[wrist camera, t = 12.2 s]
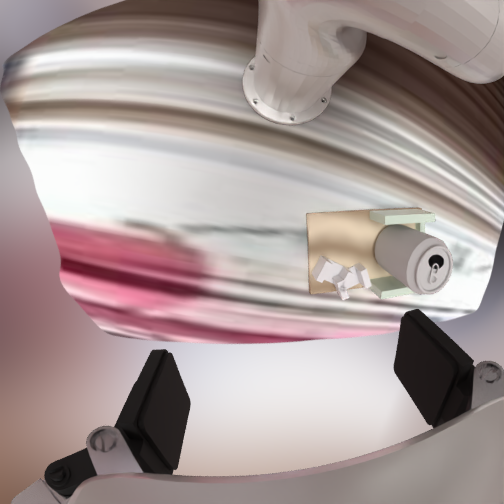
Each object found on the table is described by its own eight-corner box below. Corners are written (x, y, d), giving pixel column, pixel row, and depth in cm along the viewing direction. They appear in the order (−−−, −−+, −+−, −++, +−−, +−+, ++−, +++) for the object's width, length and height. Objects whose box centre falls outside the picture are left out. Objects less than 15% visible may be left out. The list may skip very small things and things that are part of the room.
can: (416, 228, 38) (463, 247, 26) (403, 272, 40) (445, 302, 28) (379, 217, 37) (424, 234, 26) (366, 265, 39) (405, 296, 27)
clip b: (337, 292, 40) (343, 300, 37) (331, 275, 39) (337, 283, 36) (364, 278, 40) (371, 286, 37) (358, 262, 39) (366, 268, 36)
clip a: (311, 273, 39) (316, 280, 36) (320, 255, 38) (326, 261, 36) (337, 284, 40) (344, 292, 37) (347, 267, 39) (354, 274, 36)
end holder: (369, 210, 37) (385, 215, 32) (420, 208, 37) (438, 213, 32) (367, 286, 40) (380, 299, 35) (416, 278, 40) (431, 289, 35)
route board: (306, 213, 38) (307, 214, 37) (418, 207, 38) (421, 208, 37) (309, 291, 41) (310, 294, 40) (414, 276, 41) (417, 278, 40)
